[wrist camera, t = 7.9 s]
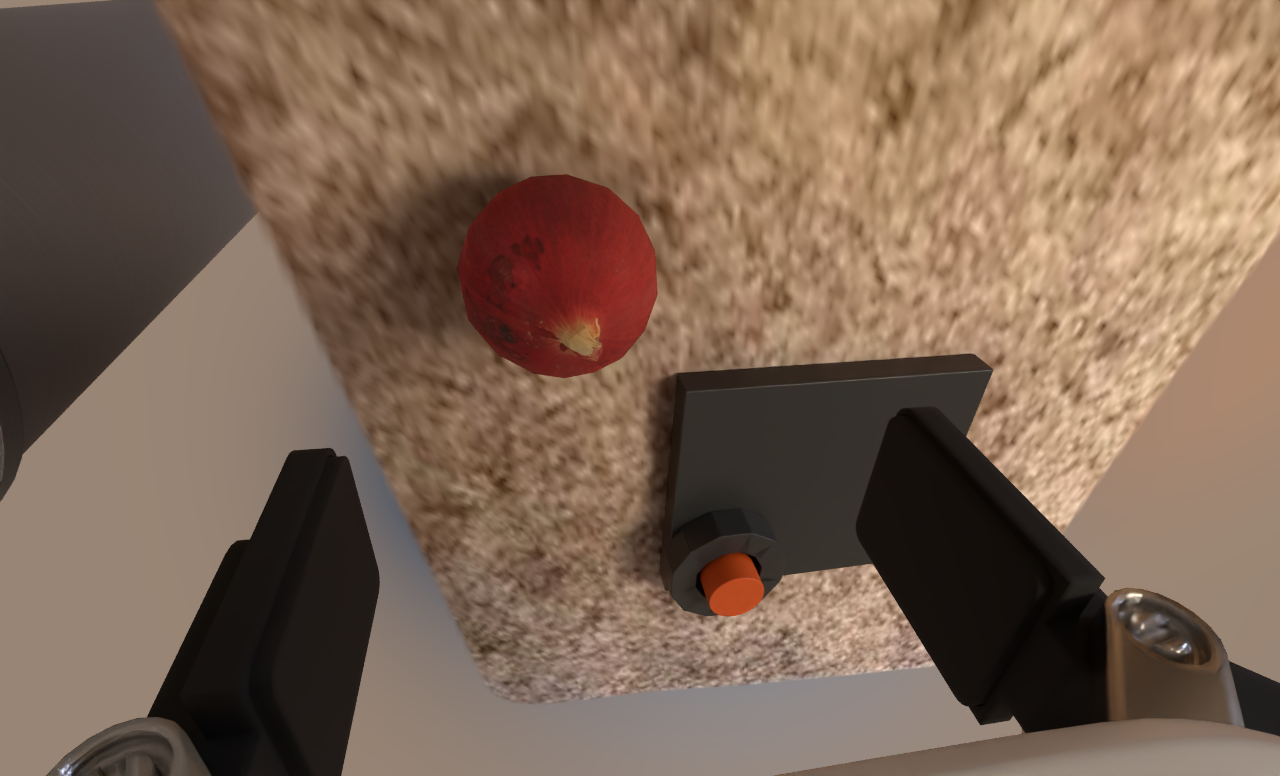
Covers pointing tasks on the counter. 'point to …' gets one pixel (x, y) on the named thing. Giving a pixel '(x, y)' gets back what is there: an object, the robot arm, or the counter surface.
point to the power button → (731, 584)
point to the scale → (789, 461)
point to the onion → (558, 275)
